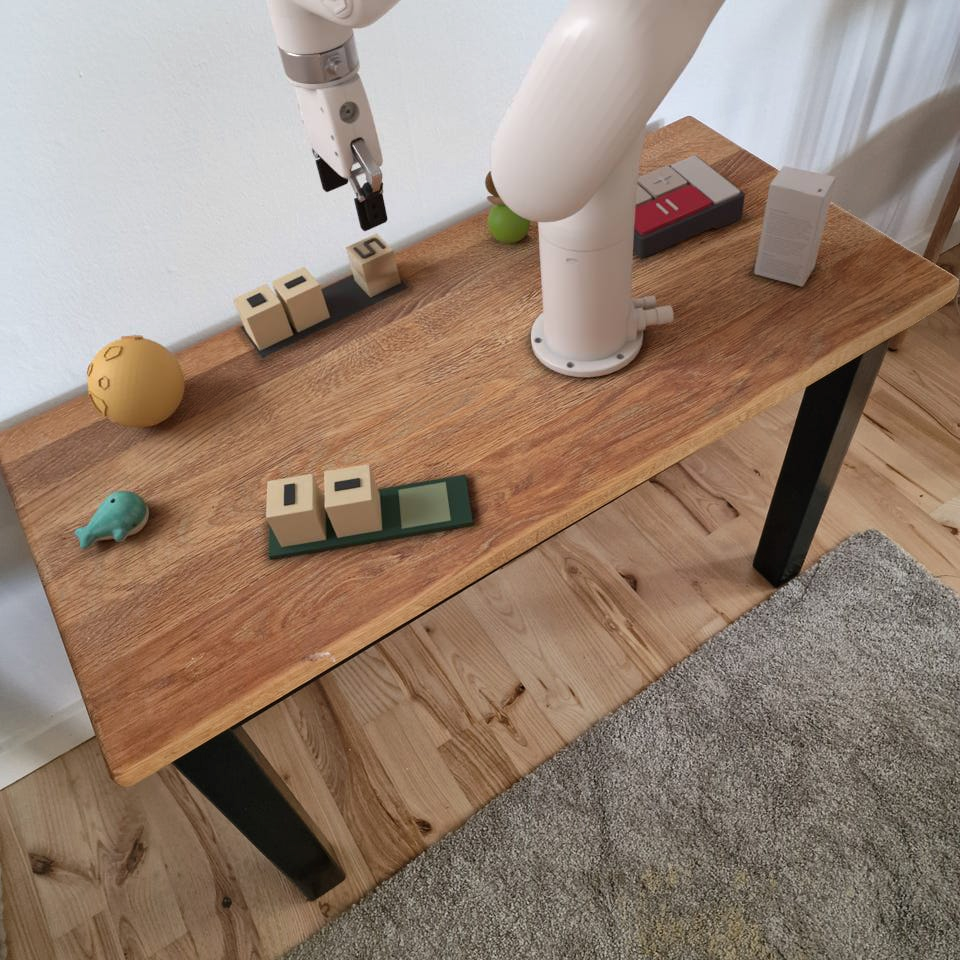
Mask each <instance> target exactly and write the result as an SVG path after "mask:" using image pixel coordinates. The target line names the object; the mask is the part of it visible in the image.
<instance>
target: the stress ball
mask: <svg viewBox="0 0 960 960" xmlns="http://www.w3.org/2000/svg"><path fill="white" fill-rule="evenodd" d="M86 376H87V379H86V380H87V382H86V383H87V389H88V398H89V399H90V402H91V403H92V405H93V406H94V408H95V410H96V411H98V413H99V414H100V415H101V416H103V417H106V418H107V419H108V420H109V421H111V422H112V423H114V424H116V425H121V426H124V427H127V428H128V427H129V428H135V429H139V428H149V427H152V426H155V425H158V424H160V423H162V422H164V421H166V420H167V419H168V418H170V417H171V416H172V415H174V413H175V411H176V410H177V409H178V408H179V406H180V404H181V402H182V400H183V397H184V394H185V385H186V382H185V375H184V372H183V368H182V366H181V364H180V362H179V360H178V359H177V358H176V356H175V355H174V354H173V353H172V352H171V351H170V350H169V349H168V348H167V347H165V346H163V345H162V344H161V343H159V342H157V341H155V340H152V339H150V338H149V339H148V338H144V336H143V335H140V334H139V335H137V334H134V335H122V336H120V338H119V339H116V340H114V341H111V342H109V343H108V344H106V345H105V346H103V347H102V348H101V349H100V350H99V351H98V352H97V353H96V354H95V356H94V357H93V359H92V360H91V362H90V363H89V365H88V366H87V370H86Z"/></svg>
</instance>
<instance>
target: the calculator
mask: <svg viewBox="0 0 960 960" xmlns="http://www.w3.org/2000/svg"><path fill="white" fill-rule="evenodd" d="M745 196H746V194H745V192H744V191H743V190H741V189H740V188H738V187H737V186H736V185H735V184H733V183H732V182H731V181H729V179H727V178H726V177H725V176H723V175H722V174H720V172H718V171H717V170H716V169H715V168H713V167H712V166H711V165H710V164H708V163H707V162H706V161H704V160H703V159H702V158H701V157H699V156H698V155H696V154H694V155H691V156H688V157H686V158H684V159H680V160H678V161H677V162H674V163H671V164H670V165H664V166H662V167H659V168H657V169H655V170H653V171H650V172H648V173H645V174H643V175H641V176H638V182H637V193H636V208H635V224H634V240H633V253H634V254H636V255H637V256H638V257H639V258H640V259H644V258H646V257H649V256H651V255H653V254H655V253H657V252H660V251H662V250H665V249H667V248H670V247H671V246H673V245H676V244H678V243H680V242H684V241H685V240H687V239H690V238H692V237H694V236H696V235H699V234H701V233H703V232H705V231H708V230H710V229H712V228H713V229H722V228H723V227H725V226H728V225H731V224H732V223H734V222H736V221H737V222H738V221H739V220H741V219H742V218H743V213H744V205H745Z"/></svg>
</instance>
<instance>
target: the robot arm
mask: <svg viewBox="0 0 960 960" xmlns="http://www.w3.org/2000/svg"><path fill="white" fill-rule="evenodd" d="M400 1H401V0H265V4H266V8H267V11H268V14H269V18H270V23H271V25H272V29H273V34H274V37H275V41H276V44H277V48H278V52H279V55H280V60H281V64H282V67H283V71H284V74H285V77H286V78H285V79H286V80H287V82H288V83H289V84H291V85H292V86H294V91H295V96H296V101H297V105H298V109H299V114H300V118H301V122H302V125H303V128H304V132H305V135H306V137H307V140H308V143H309V145H310V146H311V152H312V155H313V156H314V159H315V165H316V169H317V172H318V176H319V180H320V184H321V188H322V190H323V191H324V192H325V193H329V192H331V191H334V190H337V189H339V188H342V187H344V186H345V185H347V184H348V183H350V186H351V188H352V190H353V192H354V194H355V196H356V197H355V198H353V201H354V206H355V209H356V214H357V218H358V223H359V228H360V229H361V230H362V231H363V232H367V231H369V230H372V229H374V228H376V227H378V226H381V225H383V224H386V223H387V221H388V213H387V209H386V204H385V198H384V182H383V172H382V170H381V168H380V167H381V166H383V162H384V159H383V153H382V148H381V145H380V140H379V136H378V133H377V128H376V125H375V120H374V116H373V113H372V108H371V106H370V102H369V99H368V96H367V93H366V90H365V87H364V84H363V81H362V79H361V76H360V74H359V73H358V72H359V71H360V68H361V64H360V59H359V53H358V48H357V43H356V39H355V34H354V33H355V31H354V30H353V29H364V28H368V27H369V26H371V25H373V24H374V23H376V22H377V21H379V20H380V19H381V18H382V17H384V16H385V15H386V14H388V12H390V11H391V10H392V9H393V8H394V7H395V6H397V4H398V3H399V2H400ZM726 1H727V0H571V1H570V2H569V3H568V5H566V7H565V9H563V10H562V12H561V13H560V15H559V16H558V17H557V19H556V21H555V22H554V24H553V25H552V27H551V28H550V30H549V32H547V35H546V36H545V38H544V40H543V41H542V44H541V46H540V48H539V49H538V51H537V53H536V55H535V57H534V58H533V61H532V62H531V64H530V66H529V68H528V71H527V72H526V74H525V76H524V77H523V80H522V81H521V83H520V85H519V87H518V89H517V91H516V93H515V94H514V97H513V99H512V101H511V103H510V105H509V106H508V108H507V110H506V112H505V114H504V116H503V118H502V119H501V122H500V124H499V125H498V128H497V130H496V132H495V134H494V137H493V140H492V143H491V146H490V153H489V168H490V170H489V171H491V176H492V180H493V183H494V186H495V188H496V191H497V193H498V194H499V196H500V198H501V199H502V201H503V202H504V203H505V204H506V206H507V207H508V208H509V209H510V210H512V211H513V212H514V213H516V214H517V215H519V216H521V217H523V218H525V219H528V220H530V222H536V223H537V227H538V228H537V229H538V245H539V264H540V276H541V277H540V282H541V299H542V312H541V313H540V314H539V315H538V316H537V318H536V319H535V320H534V322H533V324H532V327H531V331H530V343H531V344H530V345H531V348H532V351H533V353H534V355H535V357H536V358H537V360H539V362H540V363H541V364H542V365H544V366H545V367H547V368H548V369H549V370H552V371H554V372H555V373H559V374H561V375H563V376H564V375H565V376H569V377H575V378H595V377H601V376H602V377H603V376H606V375H610V374H612V373H615V372H617V371H619V370H621V369H623V368H625V367H626V366H628V365H629V364H630V363H631V362H632V361H634V359H635V358H636V357H637V356H638V354H639V353H640V350H641V348H642V345H643V340H644V339H643V338H644V331H645V330H646V327H648V326H654V325H656V326H659V325H665V324H671V323H673V322H674V317H675V315H674V309H673V306H672V305H671V304H669V305H661V306H657V299H656V296H655V295H654V294H653V295H647V296H646V295H645V296H642V297H638V298H635V297H634V296H632V283H633V282H632V281H633V257H634V251H633V240H634V224H635V208H636V193H637V182H638V177H639V173H640V167H641V159H642V155H643V148H644V142H645V138H646V130H647V123H648V122H649V120H650V119H651V118H652V116H653V115H654V114H655V112H656V111H657V109H658V108H659V107H660V105H661V104H662V102H664V100H665V98H666V97H667V95H668V94H669V93H670V91H671V90H672V88H673V87H674V86H675V84H676V83H677V81H678V79H679V78H680V76H681V75H682V74H683V72H684V71H685V69H686V68H687V66H688V65H689V63H690V62H691V61H692V59H693V58H694V55H695V54H696V52H697V51H698V48H699V46H700V45H701V43H702V40H703V38H704V37H705V34H706V33H707V32H708V29H709V27H710V26H711V25H712V23H713V21H714V19H715V18H716V16H717V14H718V13H719V12H720V10H721V8H722V7H723V6H724V4H725V2H726ZM356 164H359V166H360V167H357V168H355V169H353V165H356ZM364 174H365V180H366V182H364V183H363V185H362V186H361V184H360V182H359V180H358V177H360V176H362V175H364Z"/></svg>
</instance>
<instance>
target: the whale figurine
mask: <svg viewBox="0 0 960 960" xmlns="http://www.w3.org/2000/svg"><path fill="white" fill-rule="evenodd" d="M149 515H150V512H149V506H148V505H147V503H146V501H144V499H143V498H142V497H141V496H140V494H138V493H135V492H133V491H131V490H118V491H115V492H112V493H110V494H109V495H108V496H107V497H106V498H105V499H104V501H102V502H100V503H99V507H98V509H97V510H96V511H95V513H94V514H93V516H92V517H91V519H90V521H89V522H88V524H87V525H85V526H81V527H80V526H79V527H78V528H76V529H75V531H74V536H75V538H77V539H78V540H79V547H80V549H81V550H83V551H87V550H88V549H90V548H92V547H93V545H94V544H95V543H96V542H98V541H108V540H114V541H115V542H117V543H122V542H124V541H125V540H126V539H127V538H128V537H129V536H133V535H135V534H138V533H139V532H140V531H141V530H142V529H144V527H145V526H146V524H147V522H148V520H149Z"/></svg>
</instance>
